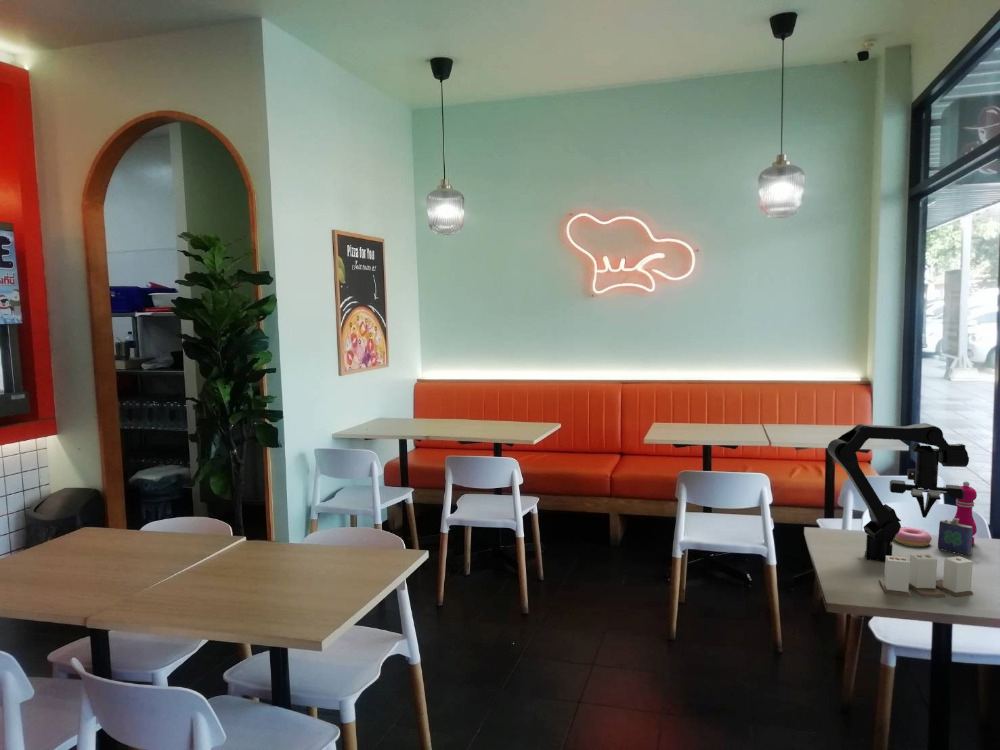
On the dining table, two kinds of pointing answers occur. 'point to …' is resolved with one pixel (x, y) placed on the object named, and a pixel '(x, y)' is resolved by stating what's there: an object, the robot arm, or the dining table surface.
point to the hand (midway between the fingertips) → (924, 517)
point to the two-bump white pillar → (923, 571)
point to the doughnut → (913, 537)
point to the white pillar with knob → (957, 574)
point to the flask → (955, 537)
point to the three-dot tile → (897, 573)
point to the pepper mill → (966, 508)
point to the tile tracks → (926, 590)
